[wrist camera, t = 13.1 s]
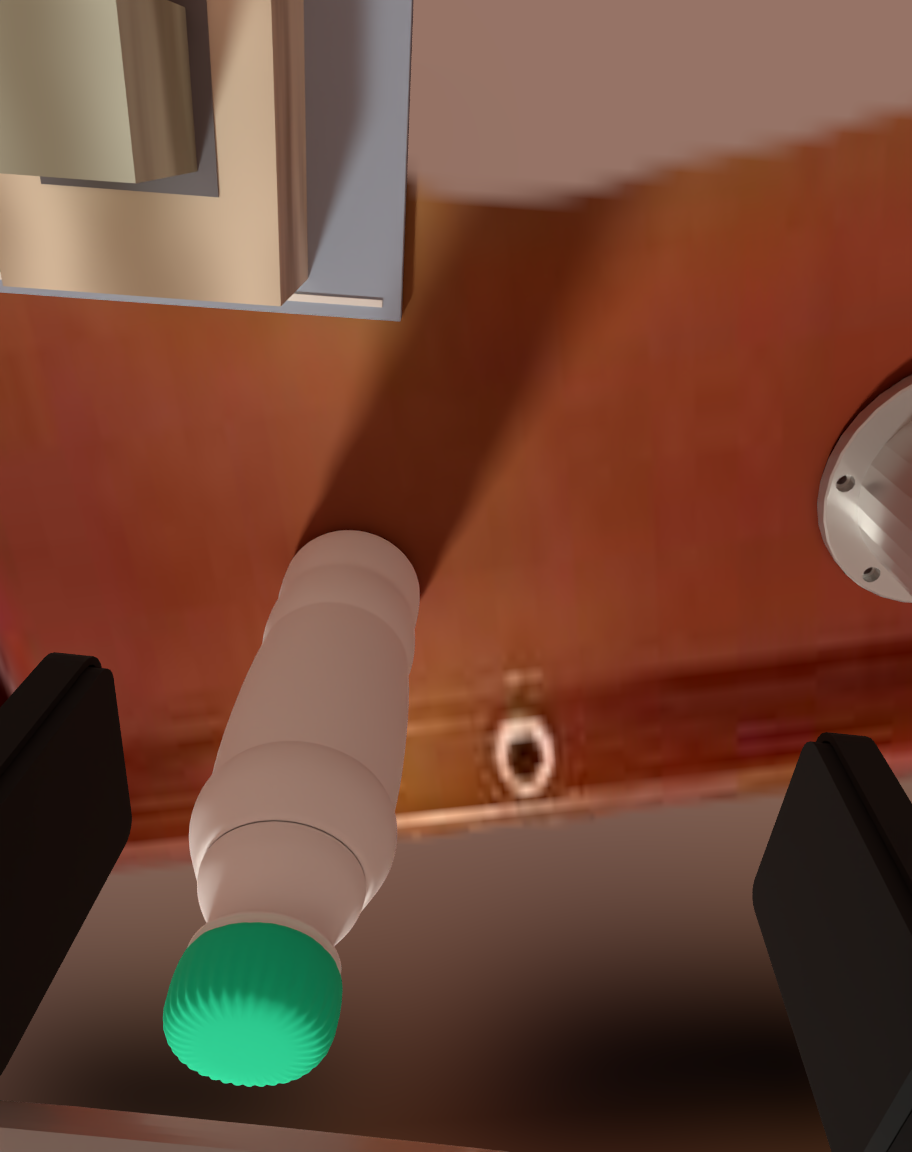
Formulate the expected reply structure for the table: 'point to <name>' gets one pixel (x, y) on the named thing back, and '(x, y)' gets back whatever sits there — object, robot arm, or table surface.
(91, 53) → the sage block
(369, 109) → the board
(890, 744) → the table surface
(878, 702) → the table surface
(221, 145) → the plinth
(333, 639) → the water bottle
